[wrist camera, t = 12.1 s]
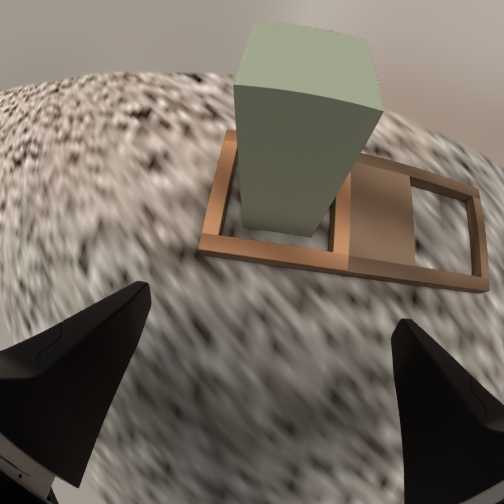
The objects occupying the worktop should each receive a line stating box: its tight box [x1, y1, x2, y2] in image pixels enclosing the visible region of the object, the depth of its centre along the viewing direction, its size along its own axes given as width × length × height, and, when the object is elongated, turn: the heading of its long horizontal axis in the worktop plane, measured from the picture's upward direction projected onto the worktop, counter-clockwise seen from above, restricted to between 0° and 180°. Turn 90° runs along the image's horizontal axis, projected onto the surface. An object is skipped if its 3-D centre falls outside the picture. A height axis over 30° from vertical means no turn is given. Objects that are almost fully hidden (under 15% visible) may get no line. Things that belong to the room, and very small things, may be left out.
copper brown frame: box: [199, 130, 489, 293], centre depth 18 cm, size 9×22×1 cm, turn 81°
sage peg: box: [233, 20, 384, 237], centre depth 14 cm, size 4×4×12 cm
